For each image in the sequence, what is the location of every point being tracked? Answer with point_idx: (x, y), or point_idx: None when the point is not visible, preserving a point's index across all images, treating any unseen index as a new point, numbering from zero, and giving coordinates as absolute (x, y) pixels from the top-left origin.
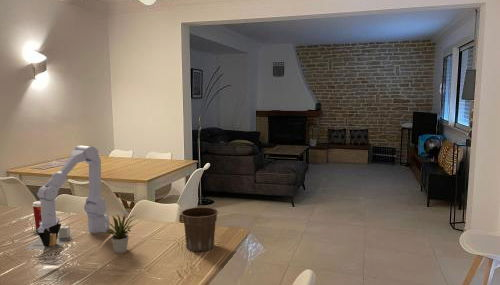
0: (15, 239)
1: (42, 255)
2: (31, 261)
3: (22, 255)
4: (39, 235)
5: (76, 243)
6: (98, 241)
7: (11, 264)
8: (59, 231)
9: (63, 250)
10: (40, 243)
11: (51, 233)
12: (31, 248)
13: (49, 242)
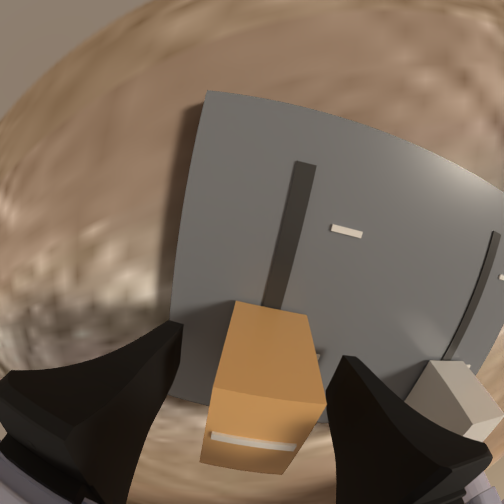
0: (494, 20)
1: (102, 301)
2: (27, 253)
3: (118, 129)
4: (51, 378)
5: (310, 448)
6: (300, 495)
7: (7, 145)
8: (451, 408)
9: (189, 412)
10: (350, 229)
11: (289, 450)
12: (201, 171)
13: (166, 391)
